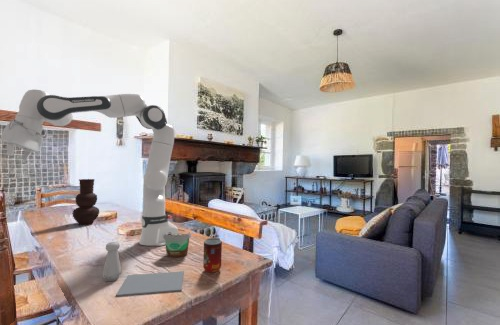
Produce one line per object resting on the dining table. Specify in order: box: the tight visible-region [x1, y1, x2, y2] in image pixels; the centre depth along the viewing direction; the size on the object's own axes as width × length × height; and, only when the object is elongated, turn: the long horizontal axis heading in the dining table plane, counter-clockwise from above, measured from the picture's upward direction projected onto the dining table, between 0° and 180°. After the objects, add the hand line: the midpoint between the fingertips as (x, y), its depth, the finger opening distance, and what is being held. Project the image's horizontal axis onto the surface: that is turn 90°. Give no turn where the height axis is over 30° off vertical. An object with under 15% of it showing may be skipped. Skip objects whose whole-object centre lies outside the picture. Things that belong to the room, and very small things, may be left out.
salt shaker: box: [102, 241, 122, 282], centre depth 89 cm, size 6×6×13 cm
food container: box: [164, 232, 192, 259], centre depth 111 cm, size 12×6×10 cm, turn 105°
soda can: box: [203, 237, 223, 275], centre depth 97 cm, size 7×7×12 cm
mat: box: [115, 270, 185, 297], centre depth 86 cm, size 20×14×1 cm
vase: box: [71, 178, 100, 226], centre depth 166 cm, size 15×15×30 cm
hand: (17, 157), depth 101 cm, fingers open, 8 cm apart
